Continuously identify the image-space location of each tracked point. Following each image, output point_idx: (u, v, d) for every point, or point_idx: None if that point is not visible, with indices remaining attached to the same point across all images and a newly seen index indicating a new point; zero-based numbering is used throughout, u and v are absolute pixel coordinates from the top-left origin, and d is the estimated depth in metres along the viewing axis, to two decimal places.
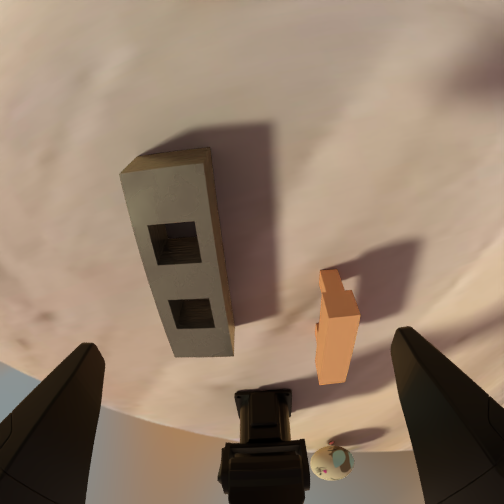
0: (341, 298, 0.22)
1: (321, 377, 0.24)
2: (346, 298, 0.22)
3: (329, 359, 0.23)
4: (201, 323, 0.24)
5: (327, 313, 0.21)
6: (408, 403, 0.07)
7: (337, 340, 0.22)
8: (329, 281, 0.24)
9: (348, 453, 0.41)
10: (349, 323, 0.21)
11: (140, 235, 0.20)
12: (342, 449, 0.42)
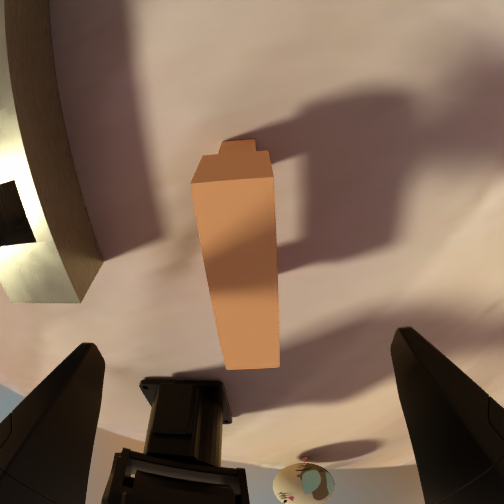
0: (239, 159, 0.10)
1: (224, 353, 0.12)
2: (250, 158, 0.10)
3: (227, 309, 0.11)
4: (25, 238, 0.12)
5: None
6: (408, 403, 0.07)
7: (230, 254, 0.10)
8: (231, 149, 0.12)
9: (325, 474, 0.29)
10: (248, 203, 0.09)
11: None
12: (317, 469, 0.30)
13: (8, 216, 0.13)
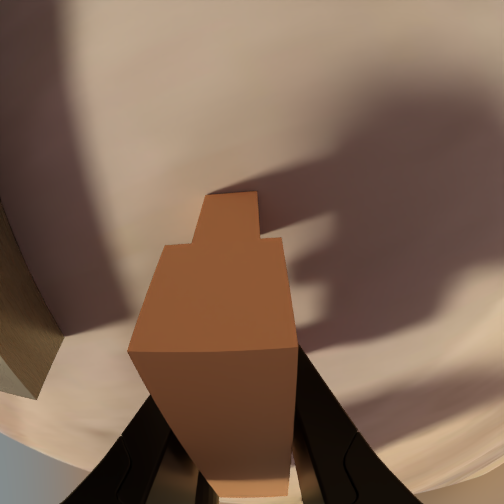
0: (227, 266, 0.05)
1: (216, 489, 0.08)
2: (249, 266, 0.05)
3: (217, 467, 0.06)
4: None
5: (139, 327, 0.04)
6: None
7: (217, 430, 0.05)
8: (218, 218, 0.08)
9: None
10: (244, 382, 0.04)
11: None
12: None
13: None
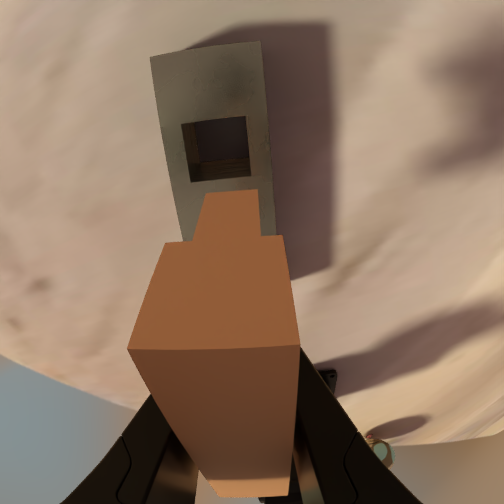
0: (228, 263, 0.05)
1: (216, 489, 0.08)
2: (250, 264, 0.05)
3: (217, 467, 0.06)
4: None
5: None
6: None
7: (217, 430, 0.05)
8: (219, 216, 0.07)
9: (389, 446, 0.36)
10: (246, 380, 0.04)
11: (170, 139, 0.14)
12: (383, 442, 0.36)
13: None
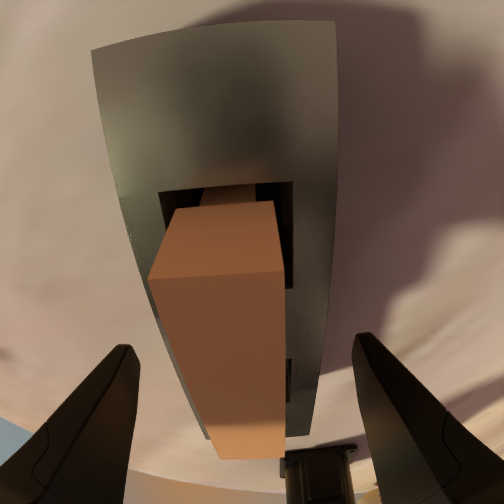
0: (228, 220, 0.07)
1: (217, 447, 0.09)
2: (246, 220, 0.07)
3: (218, 415, 0.08)
4: None
5: None
6: (366, 411, 0.07)
7: (218, 366, 0.06)
8: (220, 191, 0.09)
9: None
10: (242, 307, 0.05)
11: (139, 220, 0.07)
12: None
13: None
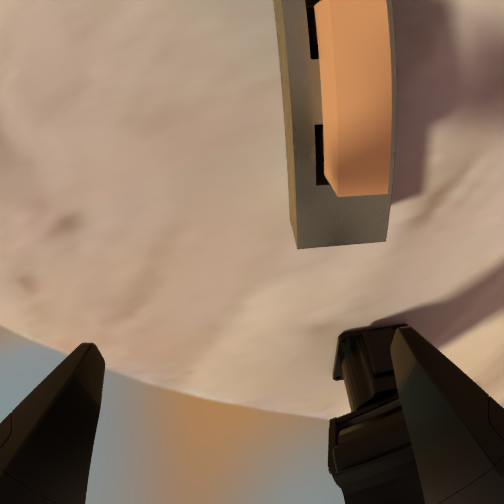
0: None
1: (339, 170, 0.12)
2: None
3: (349, 111, 0.11)
4: None
5: None
6: (408, 403, 0.07)
7: (356, 54, 0.10)
8: None
9: None
10: (369, 15, 0.09)
11: (291, 9, 0.11)
12: None
13: None
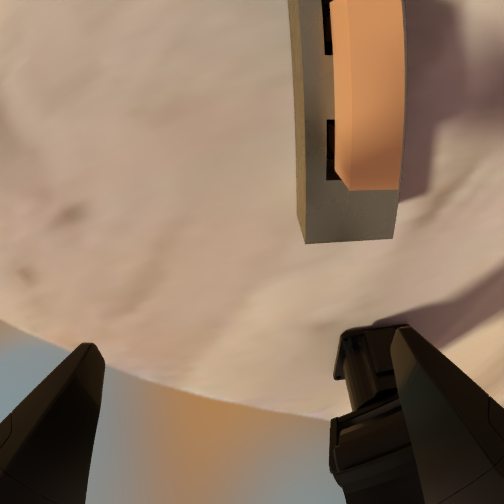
0: None
1: (352, 164, 0.12)
2: None
3: (363, 106, 0.11)
4: None
5: None
6: (408, 403, 0.07)
7: (371, 51, 0.09)
8: None
9: None
10: (385, 13, 0.09)
11: (307, 6, 0.11)
12: None
13: None
